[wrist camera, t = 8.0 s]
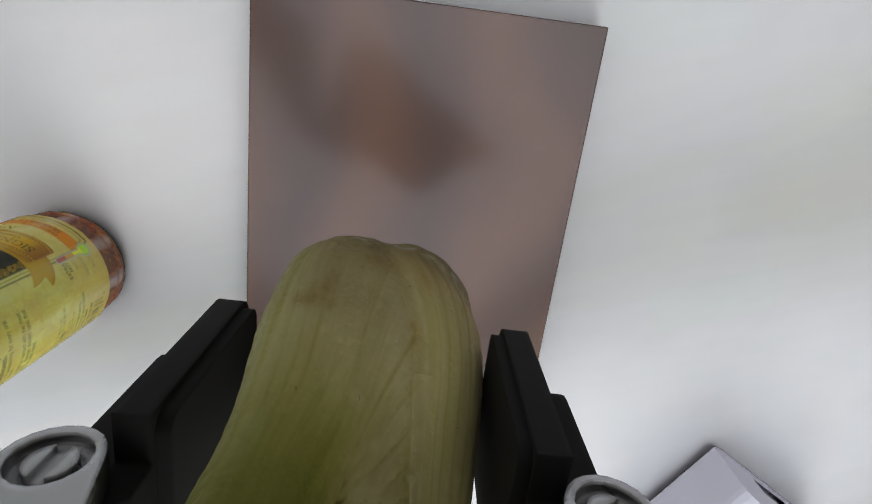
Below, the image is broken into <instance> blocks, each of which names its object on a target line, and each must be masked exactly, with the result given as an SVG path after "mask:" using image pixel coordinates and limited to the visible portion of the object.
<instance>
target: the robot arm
mask: <svg viewBox="0 0 872 504" xmlns="http://www.w3.org/2000/svg"><path fill="white" fill-rule="evenodd" d="M256 331H257V313H256V310H255V309H249V307H248V304H247V302H245V301H236V300H226V299H218V300H216V301H215V302H214V304H213V305H212V306H211V307H210V308H209V309H208V310H207V311H206V312H205V313H204V314H203V315H202V316H201V317H200V318H199V319H198V321H197V322H196V323H195V324H194V325H193V326H192V327H191V328H190V329H189V330H188V331H187V332H186V333H185V334H184V335H183V336H182V337H181V339H180V340H179V341H178V342H177V343H176V344H175V345H174V346H173V347H172V348H171V349H170V350H169V351H168V352H167V353H166V354H165V355H161V356H160V357H159V358H157V359H156V360H155V361H154V362H153V363H152V364H151V365H150V366H149V368H148V369H147V370H146V371H145V372H144V373H143V374H142V375H141V376H140V377H139V378H138V379H137V380H136V381H135V382H134V383H133V384H132V385H131V386H130V387H129V388H128V389H127V390H126V392H125V393H124V394H123V395H122V396H121V397H120V398H119V399H118V400H117V401H116V402H115V403H114V404H113V405H112V406H111V407H110V408H109V409H108V410H107V411H106V412H105V413H104V414H103V416H102V417H101V418H100V419H99V420H98V421H97V422H96V423H95V424H94V425H93V426H92V427H91V428H89V427H85V426H62V427H55V428H49V429H46V430H42V431H39V432H36V433H32V434H30V435H28V436H26V437H23V438H21V439H19V440H17V441H15V442H13V443H12V444H10V445H9V446H7V447H6V448H4V449H3V450H2V451H0V504H185V503H186V501H187V499H188V497H189V495H190V493H191V491H192V490H193V488H194V487H195V485H196V483H197V481H198V479H199V477H200V476H201V474H202V473H203V471H204V470H205V468H206V466H207V465H208V463H209V461H210V459H211V457H212V455H213V453H214V451H215V448H216V447H217V445H218V443H219V441H220V440H221V437H222V434H223V431H224V429H225V426H226V424H227V422H228V421H229V418H230V416H231V413H232V411H233V408H234V405H235V402H236V398H237V395H238V392H239V390H240V387H241V383H242V380H243V376H244V372H245V367H246V364H247V360H248V357H249V354H250V351H251V349H252V344H253V340H254V336H255V333H256ZM482 391H483V396H482V408H481V421H480V428H479V441H478V449H477V460H476V466H475V473H474V479H475V488H476V498H477V504H651V503H650V501H649V500H648V499H647V498H646V497H645V496H643V495H642V494H641V493H640V492H639V491H638V490H636V489H634V488H633V487H631V486H629V485H628V484H626V483H624V482H622V481H619V480H617V479H614V478H611V477H607V476H601V475H597V473H596V471H595V468H594V466H593V463H592V461H591V459H590V456H589V454H588V451H587V449H586V446H585V444H584V441H583V439H582V437H581V434H580V432H579V429H578V427H577V424H576V422H575V419H574V417H573V414H572V412H571V410H570V407H569V405H568V402H567V400H566V398H565V397H564V396H563V395H560V394H551V393H550V391H549V388H548V386H547V383H546V380H545V377H544V375H543V372H542V369H541V367H540V364H539V361H538V358H537V356H536V353H535V350H534V347H533V345H532V342H531V339H530V336H529V334H528V332H527V331H517V330H508V329H501V331H500V334H499V335H493V334H492V335H491V337H490V341H489V347H488V353H487V359H486V364H485V370H484V376H483V383H482Z"/></svg>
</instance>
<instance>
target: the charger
mask: <svg viewBox="0 0 872 504" xmlns="http://www.w3.org/2000/svg"><path fill="white" fill-rule="evenodd" d="M650 503H651V504H790V503H789V502H788V501H786V500H785V499H784V498H783V497H781V496H780V495H779V494H778V493H776V492H775V491H774V490H772V489H771V488H770V487H769V486H767V485H766V484H765V483H763V482H762V481H761V480H760V479H758V478H757V477H756V476H754V475H753V474H752V473H751V472H749V471H748V470H747V469H745V468H744V467H743V466H742V465H740V464H739V463H738V462H736V461H735V460H734V459H733V458H731V457H730V456H729V455H727V454H726V453H725V452H723V451H722V450H721V449H719V448H718V447H713V448H712V449H711V450H710V451H709V452H708V453H706V454H705V455H704V456H703V457H702V458H700V459H699V460H698V461H697V462H696V463H695V464H693V465H692V466H691V467H690V468H689V469H688V470H686V471H685V472H684V473H683V474H682V475H680V476H679V477H678V478H677V479H676V480H675V481H673V482H672V483H671V484H670V485H669V486H668V487H666V488H665V489H664V490H663V491H662V492H660V493H659V494H658V495H657V496H656V497H655V498H653V499H652V500H651V501H650Z"/></svg>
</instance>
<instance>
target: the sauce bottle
mask: <svg viewBox="0 0 872 504" xmlns="http://www.w3.org/2000/svg"><path fill="white" fill-rule="evenodd" d="M124 267H125V266H124V264H123V261H122V256H121V254H120V252H119V250H118V248H117V246H116V244H115V242H114V241H113V239H112V238H111V237H110V236H109V235H108V234H107V233H106V231H104V230H103V229H101V228H100V227H99V226H98V225H96V224H94V223H93V222H91V221H89V220H86V219H84V218H82V217H79V216H77V215H74V214H69V213H67V212H52V211H48V212H44V213H39V214H36V215H26V216H21V217H16V218H13V219H11V220H8V221H5V222H2V223H0V385H2V384H3V383H5V382H6V381H8V380H9V379H10V378H12V377H13V376H15V375H16V374H17V373H19V372H20V371H22V370H23V369H25V368H26V367H27V366H29V365H30V364H32V363H33V362H35V361H36V360H38V359H39V358H40V357H42V356H43V355H45V354H46V353H48V352H49V351H50V350H52V349H53V348H55V347H56V346H58V345H59V344H60V343H62V342H63V341H65V340H66V339H67V338H69V337H70V336H72V335H73V334H75V333H76V332H77V331H79V330H80V329H81V328H83V327H84V326H86V325H87V324H88V323H90V322H91V321H93V320H94V319H95V318H96V317H98V316H99V315H100V314H101V313H102V311H103V309H104V308H106V307H107V306H108V305H109V304H110V303H111V302H112V301H113V300H114V299H116V298H117V296H118V294H119V293H120V291H121V290H122V285H123V282H124V279H125V277H124Z"/></svg>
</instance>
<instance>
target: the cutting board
mask: <svg viewBox="0 0 872 504" xmlns="http://www.w3.org/2000/svg"><path fill="white" fill-rule="evenodd" d="M607 32H608V28H607V27H601V26H594V25H587V24H579V23H572V22H565V21H558V20H551V19H543V18H536V17H529V16H522V15H514V14H507V13H500V12H493V11H485V10H478V9H471V8H464V7H457V6H449V5H442V4H435V3H428V2H420V1H413V0H250V65H249V158H248V251H247V304H248V307H249V309H255V310H256V313H257V328H258V324H259V322H260V321H261V317H262V315H263V312H264V309H265V307H266V305H267V303H268V302H269V300H270V298H271V296H272V293H273V291H274V289H275V287H276V285H277V283H278V281H279V279H280V278H281V276H282V274H283V273H284V271H285V269H286V268H287V266H288V265H289V263H290V261H291V260H292V259H293V257H294V256H296V255H297V254H298V253H299V252H301V251H302V250H303V249H304V248H306V247H308V246H310V245H314V244H315V243H317V242H320V241H324V240H327V239H330V238H333V237H337V236H349V235H354V236H361V237H367V238H374V239H377V240H379V241H381V242H384V243H389V244H414V245H417V246H420V247H422V248H423V249H426V250H428V251H430V252H432V253H434V254H436V255H437V256H439V257H440V258H441V259H443V260H444V261H446V262H447V264H448V265H449V266H450V267H451V269H452V270H453V271H454V272H455V273H456V274H457V275H458V277H459V278H460V280H461V281H462V283H463V285H464V286H465V288H466V290H467V293H468V297H469V301H470V305H471V312H472V315H473V317H474V321H475V324H476V326H477V329H478V332H479V336H480V343H481V350H482V354H483V357H482V358H483V359H482V364H483V376H484V370H485V364H486V359H487V353H488V347H489V341H490V337H491V335H492V334H493V335H499V334H500V331H501V329H508V330H517V331H527V332H528V334H529V336H530V339H531V342H532V345H533V347H534V350H535V353H536V356H537V358H538V357H539V352H540V347H541V343H542V338H543V333H544V329H545V324H546V319H547V314H548V310H549V305H550V300H551V296H552V291H553V286H554V281H555V277H556V272H557V267H558V263H559V258H560V253H561V248H562V244H563V239H564V234H565V230H566V225H567V220H568V215H569V211H570V206H571V201H572V197H573V192H574V187H575V182H576V178H577V173H578V168H579V164H580V159H581V154H582V149H583V145H584V140H585V135H586V131H587V126H588V121H589V116H590V112H591V107H592V102H593V98H594V93H595V88H596V83H597V79H598V74H599V69H600V65H601V60H602V55H603V50H604V46H605V41H606V36H607Z"/></svg>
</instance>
